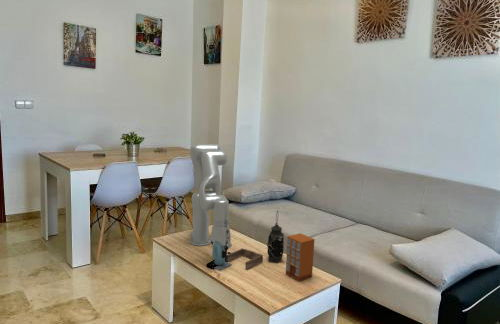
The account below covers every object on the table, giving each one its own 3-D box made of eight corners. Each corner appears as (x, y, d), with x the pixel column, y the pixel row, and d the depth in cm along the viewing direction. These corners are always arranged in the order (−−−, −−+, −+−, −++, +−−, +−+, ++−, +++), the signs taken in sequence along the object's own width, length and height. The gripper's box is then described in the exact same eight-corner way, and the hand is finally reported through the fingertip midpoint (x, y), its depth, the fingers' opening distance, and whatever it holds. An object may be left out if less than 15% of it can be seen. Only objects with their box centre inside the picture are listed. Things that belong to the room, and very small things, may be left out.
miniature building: (284, 274, 194) (286, 236, 191) (297, 270, 199) (300, 233, 196) (298, 282, 186) (300, 242, 183) (311, 277, 192) (314, 239, 188)
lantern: (281, 264, 206) (284, 213, 201) (265, 262, 207) (267, 212, 203) (283, 257, 215) (286, 209, 211) (267, 255, 217) (270, 207, 212)
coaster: (207, 265, 201) (207, 264, 201) (219, 260, 208) (219, 259, 208) (220, 270, 195) (220, 269, 195) (231, 265, 202) (231, 264, 202)
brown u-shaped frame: (226, 262, 206) (226, 255, 205) (242, 254, 216) (243, 248, 216) (247, 270, 197) (247, 262, 196) (263, 262, 208) (263, 255, 207)
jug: (219, 259, 205) (219, 238, 203) (227, 262, 202) (227, 240, 200) (208, 264, 199) (209, 242, 197) (216, 267, 196) (217, 245, 194)
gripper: (238, 224, 196) (237, 258, 198) (213, 217, 206) (213, 249, 209) (228, 228, 190) (227, 262, 193) (203, 220, 200) (203, 253, 203)
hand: (219, 255), depth 201 cm, fingers closed on jug, 5 cm apart
